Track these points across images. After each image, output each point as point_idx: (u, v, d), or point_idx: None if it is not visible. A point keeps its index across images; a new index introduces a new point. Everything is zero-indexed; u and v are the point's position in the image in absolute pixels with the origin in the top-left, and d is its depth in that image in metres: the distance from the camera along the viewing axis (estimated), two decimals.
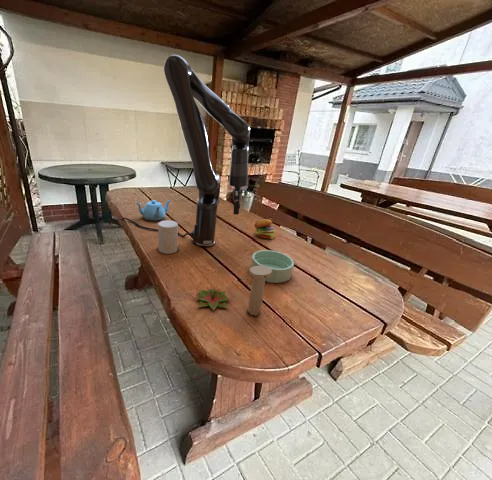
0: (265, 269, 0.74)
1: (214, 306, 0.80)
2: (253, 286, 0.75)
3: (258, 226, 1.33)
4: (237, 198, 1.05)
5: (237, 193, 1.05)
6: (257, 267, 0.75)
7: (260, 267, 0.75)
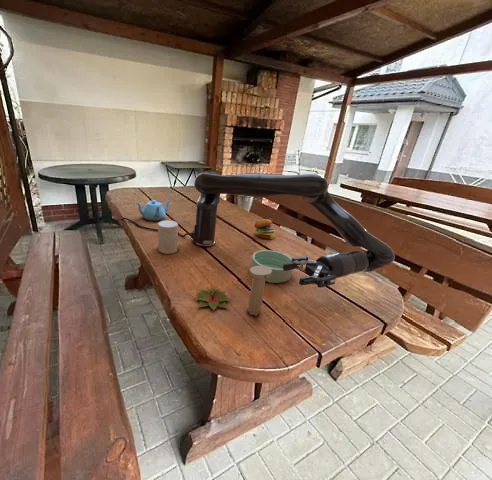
0: (265, 269, 0.74)
1: (214, 306, 0.80)
2: (253, 286, 0.75)
3: (258, 226, 1.33)
4: (328, 283, 0.74)
5: (333, 281, 0.75)
6: (257, 267, 0.75)
7: (260, 267, 0.75)
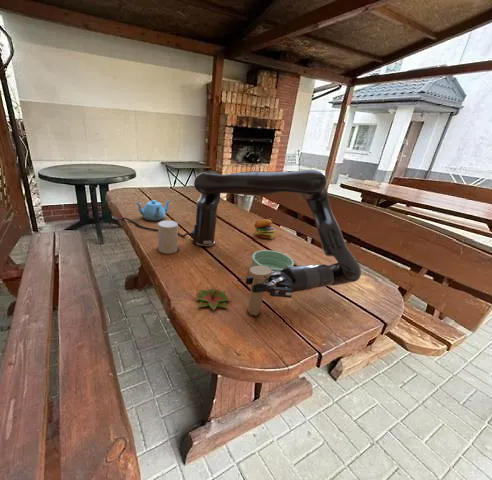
0: (265, 269, 0.74)
1: (214, 306, 0.80)
2: None
3: (258, 226, 1.33)
4: (281, 294, 0.72)
5: (289, 295, 0.72)
6: (257, 267, 0.75)
7: (260, 267, 0.75)
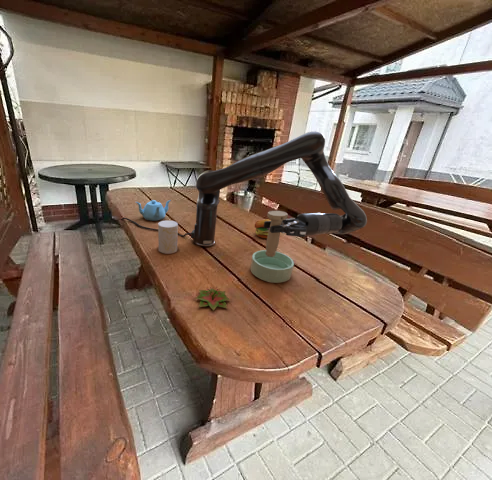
0: (281, 212, 0.84)
1: (214, 306, 0.80)
2: None
3: (258, 226, 1.33)
4: (296, 233, 0.81)
5: (303, 234, 0.81)
6: (274, 211, 0.84)
7: (277, 211, 0.84)
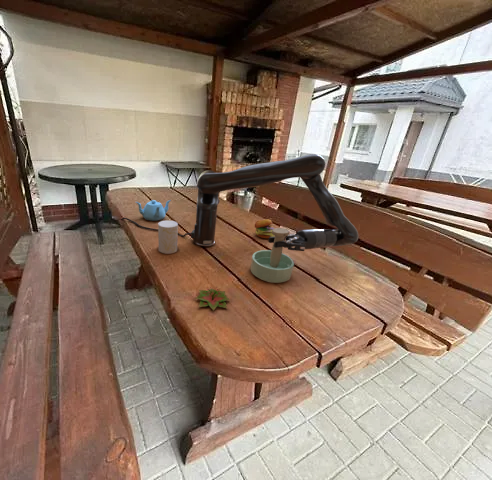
0: (283, 230, 0.96)
1: (214, 306, 0.80)
2: None
3: (258, 226, 1.33)
4: (297, 248, 0.94)
5: (302, 248, 0.94)
6: (277, 228, 0.97)
7: (280, 229, 0.97)
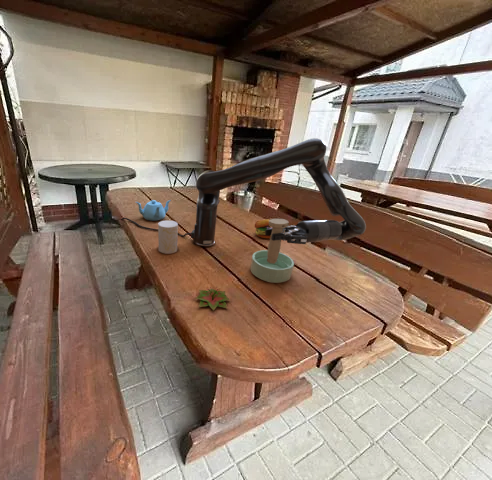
0: (282, 220, 0.85)
1: (214, 306, 0.80)
2: None
3: (258, 226, 1.33)
4: (297, 241, 0.83)
5: (303, 241, 0.83)
6: (275, 219, 0.86)
7: (278, 219, 0.86)
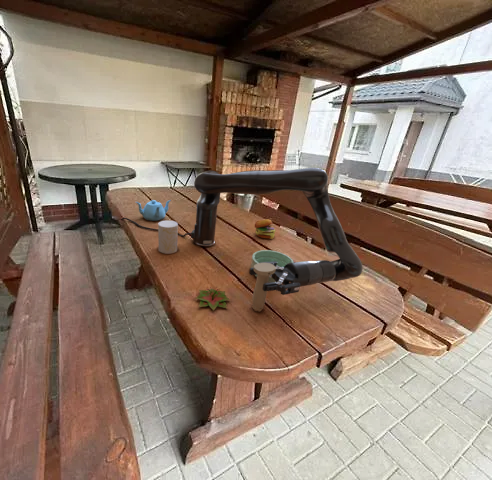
0: (269, 266, 0.76)
1: (214, 306, 0.80)
2: (257, 283, 0.77)
3: (258, 226, 1.33)
4: (291, 291, 0.73)
5: (297, 289, 0.73)
6: (261, 264, 0.77)
7: (264, 264, 0.77)
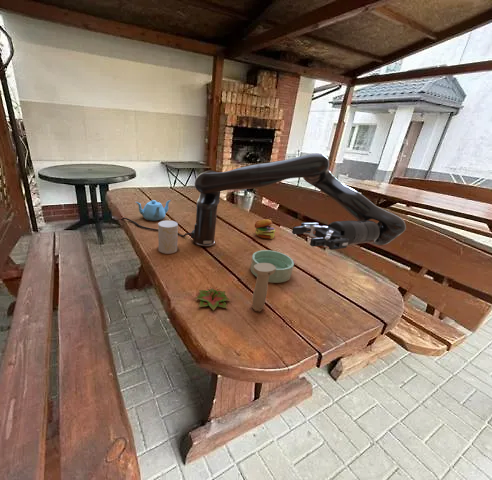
0: (269, 266, 0.76)
1: (214, 306, 0.80)
2: (257, 283, 0.77)
3: (258, 226, 1.33)
4: (340, 246, 0.71)
5: (345, 245, 0.72)
6: (261, 264, 0.77)
7: (264, 264, 0.77)
